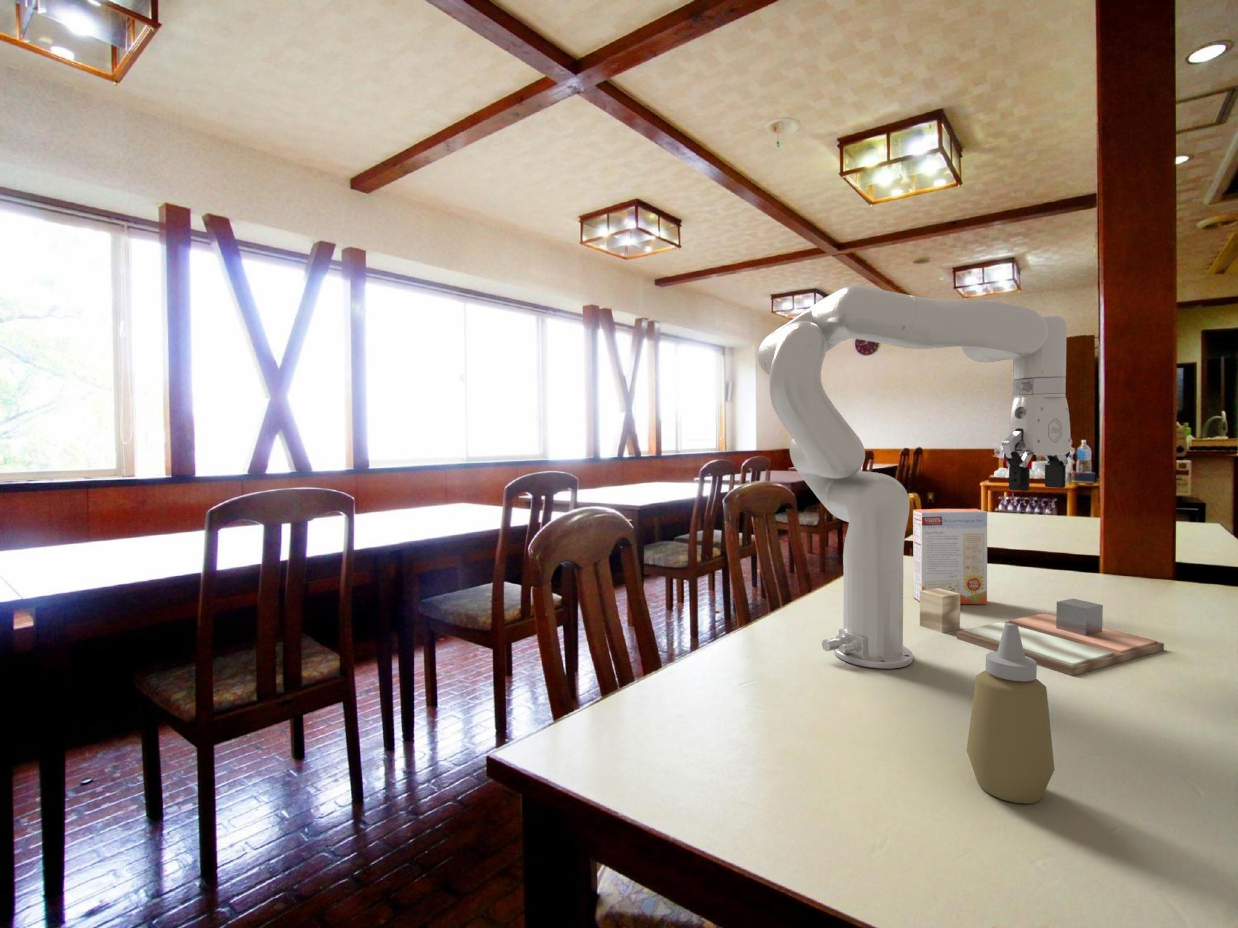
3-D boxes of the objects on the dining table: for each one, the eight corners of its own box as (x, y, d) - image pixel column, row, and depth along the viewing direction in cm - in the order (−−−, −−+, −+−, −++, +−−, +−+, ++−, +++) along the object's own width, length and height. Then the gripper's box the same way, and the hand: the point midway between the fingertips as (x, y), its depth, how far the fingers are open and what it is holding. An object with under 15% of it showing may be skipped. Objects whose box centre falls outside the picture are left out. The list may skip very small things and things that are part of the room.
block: (941, 632, 119) (942, 596, 119) (919, 625, 124) (920, 590, 123) (959, 629, 121) (960, 593, 121) (937, 622, 126) (937, 588, 126)
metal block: (1085, 635, 111) (1086, 608, 111) (1056, 628, 116) (1056, 601, 116) (1102, 631, 113) (1102, 604, 113) (1072, 624, 118) (1073, 598, 118)
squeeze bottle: (1019, 768, 71) (1022, 612, 70) (1073, 810, 63) (1077, 636, 62) (950, 770, 71) (952, 614, 70) (995, 813, 63) (998, 638, 62)
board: (1071, 675, 98) (1072, 665, 98) (956, 638, 116) (956, 629, 116) (1163, 649, 108) (1164, 640, 108) (1044, 619, 126) (1045, 611, 126)
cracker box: (975, 598, 143) (976, 507, 142) (987, 605, 137) (989, 511, 136) (911, 597, 145) (912, 508, 144) (921, 604, 139) (922, 511, 138)
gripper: (1028, 387, 100) (1026, 493, 101) (1093, 389, 107) (1091, 487, 108) (984, 390, 107) (983, 489, 108) (1047, 392, 114) (1046, 485, 115)
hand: (1037, 488), depth 108 cm, fingers open, 9 cm apart
